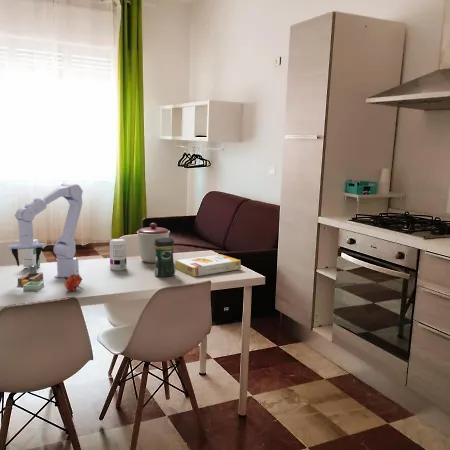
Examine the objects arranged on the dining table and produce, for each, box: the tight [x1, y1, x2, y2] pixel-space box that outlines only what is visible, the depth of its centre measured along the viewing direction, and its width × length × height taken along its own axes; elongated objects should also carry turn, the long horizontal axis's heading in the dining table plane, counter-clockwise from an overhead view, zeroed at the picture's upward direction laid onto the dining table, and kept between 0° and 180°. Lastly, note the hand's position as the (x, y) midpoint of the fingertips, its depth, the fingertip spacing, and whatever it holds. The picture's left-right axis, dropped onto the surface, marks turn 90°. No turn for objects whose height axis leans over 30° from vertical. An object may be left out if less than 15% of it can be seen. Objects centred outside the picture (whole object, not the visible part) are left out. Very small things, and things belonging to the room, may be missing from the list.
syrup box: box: [21, 238, 41, 268], centre depth 241 cm, size 6×6×14 cm
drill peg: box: [28, 265, 38, 276], centre depth 218 cm, size 3×3×7 cm
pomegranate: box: [63, 274, 85, 293], centre depth 204 cm, size 7×7×10 cm
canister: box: [136, 222, 171, 264], centre depth 260 cm, size 18×18×21 cm
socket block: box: [17, 272, 44, 286], centre depth 216 cm, size 7×11×3 cm, turn 0°
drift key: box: [21, 279, 29, 287], centre depth 213 cm, size 3×6×3 cm, turn 0°
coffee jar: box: [153, 237, 176, 278], centre depth 231 cm, size 10×8×19 cm
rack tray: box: [22, 281, 45, 292], centre depth 206 cm, size 6×6×2 cm
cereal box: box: [174, 254, 242, 278], centre depth 245 cm, size 20×6×28 cm
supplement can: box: [109, 238, 128, 271], centre depth 242 cm, size 8×8×15 cm
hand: (27, 264), depth 212 cm, fingers open, 7 cm apart
